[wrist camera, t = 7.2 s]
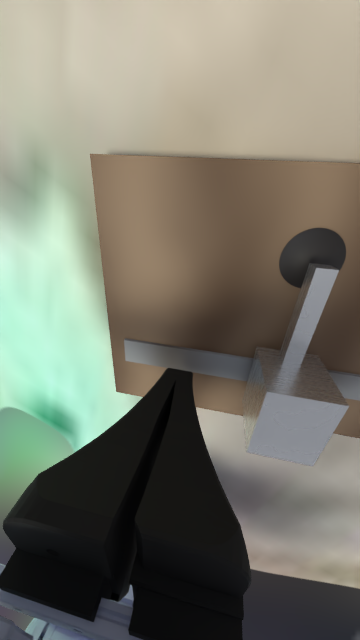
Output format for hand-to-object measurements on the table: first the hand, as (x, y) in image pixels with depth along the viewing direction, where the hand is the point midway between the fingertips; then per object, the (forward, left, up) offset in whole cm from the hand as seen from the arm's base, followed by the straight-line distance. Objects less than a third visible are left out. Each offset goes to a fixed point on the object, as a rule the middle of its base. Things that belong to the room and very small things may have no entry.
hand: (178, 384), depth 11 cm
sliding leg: (+5, +2, -2) cm, 6 cm away
